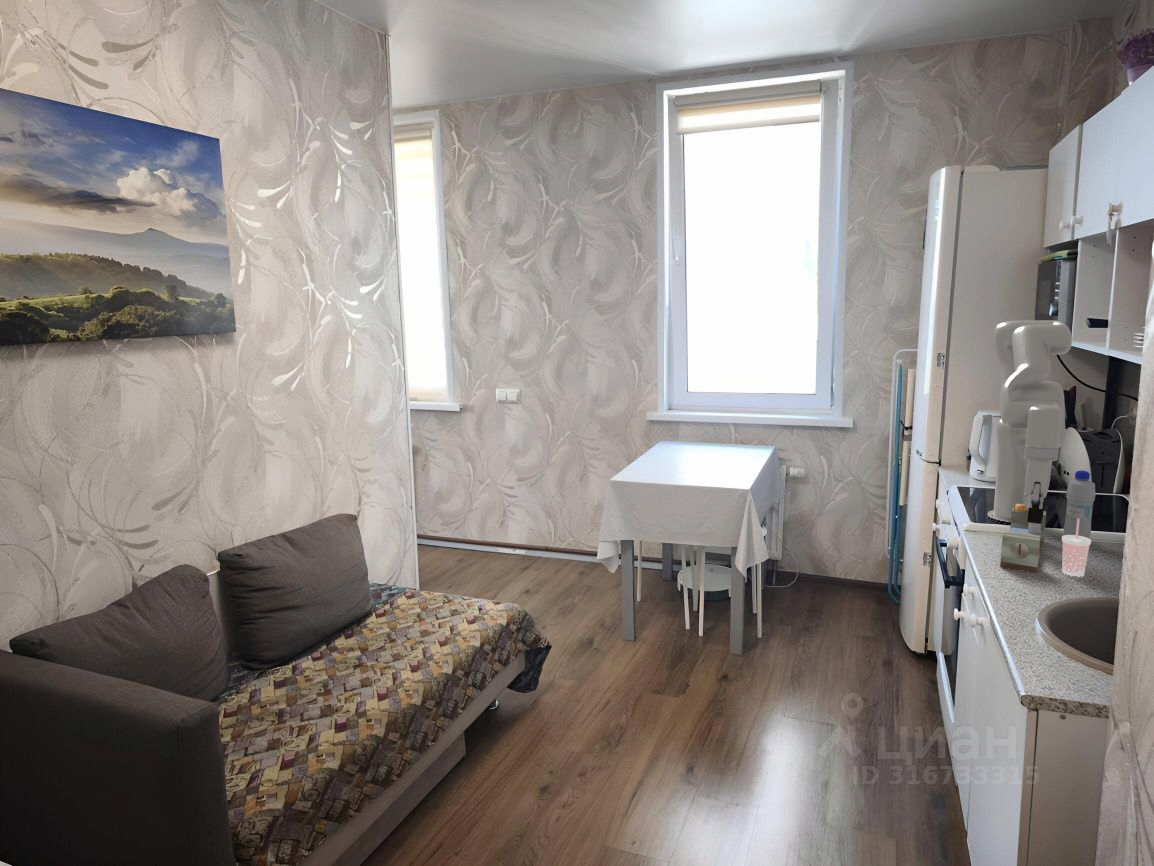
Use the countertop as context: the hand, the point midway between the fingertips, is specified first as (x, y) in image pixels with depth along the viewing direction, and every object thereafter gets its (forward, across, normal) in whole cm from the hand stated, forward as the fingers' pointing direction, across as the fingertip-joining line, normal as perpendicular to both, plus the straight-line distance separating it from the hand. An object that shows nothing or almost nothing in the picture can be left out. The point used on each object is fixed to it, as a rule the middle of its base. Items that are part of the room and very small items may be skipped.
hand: (1035, 519), depth 205 cm
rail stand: (+9, +3, -2) cm, 10 cm away
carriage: (+6, 0, -2) cm, 7 cm away
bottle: (+9, -15, +10) cm, 20 cm away
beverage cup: (+9, +13, +10) cm, 19 cm away
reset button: (+3, -9, -4) cm, 10 cm away
